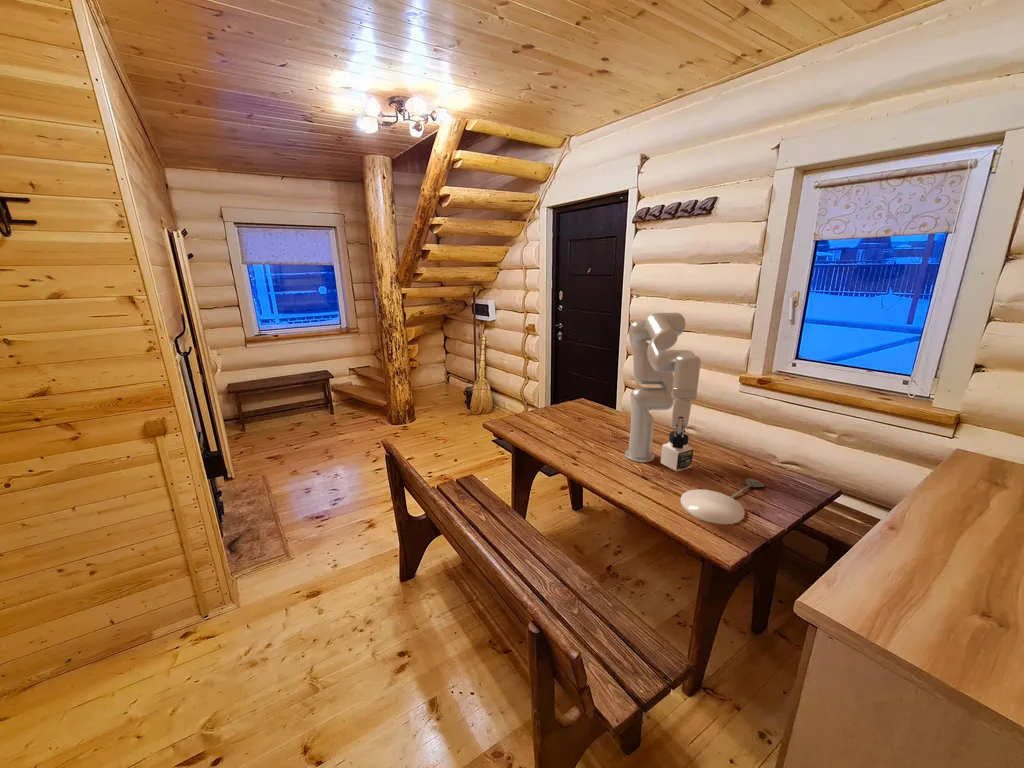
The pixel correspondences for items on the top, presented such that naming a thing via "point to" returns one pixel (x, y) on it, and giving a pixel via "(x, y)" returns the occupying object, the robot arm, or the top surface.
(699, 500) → the dish
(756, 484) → the grey spatula
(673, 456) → the medicine bottle
